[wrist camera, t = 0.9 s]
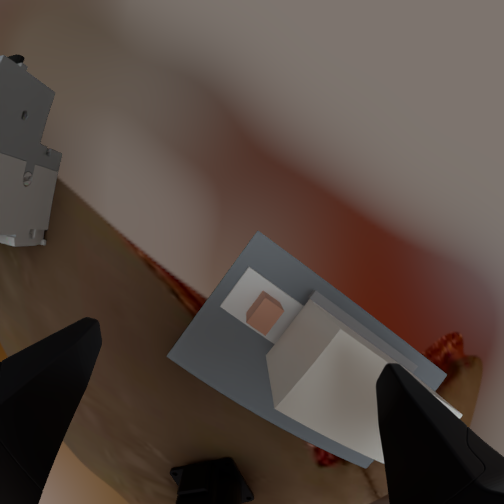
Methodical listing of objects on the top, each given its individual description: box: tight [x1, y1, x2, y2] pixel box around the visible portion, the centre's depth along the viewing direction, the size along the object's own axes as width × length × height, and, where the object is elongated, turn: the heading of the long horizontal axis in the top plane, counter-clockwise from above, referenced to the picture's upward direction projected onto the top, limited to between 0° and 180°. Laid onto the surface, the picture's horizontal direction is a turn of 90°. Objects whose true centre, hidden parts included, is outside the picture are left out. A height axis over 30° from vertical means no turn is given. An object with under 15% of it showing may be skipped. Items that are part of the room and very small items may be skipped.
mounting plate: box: [167, 231, 447, 468], centre depth 23 cm, size 12×22×5 cm, turn 54°
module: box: [266, 289, 462, 464], centre depth 18 cm, size 6×12×8 cm, turn 54°
